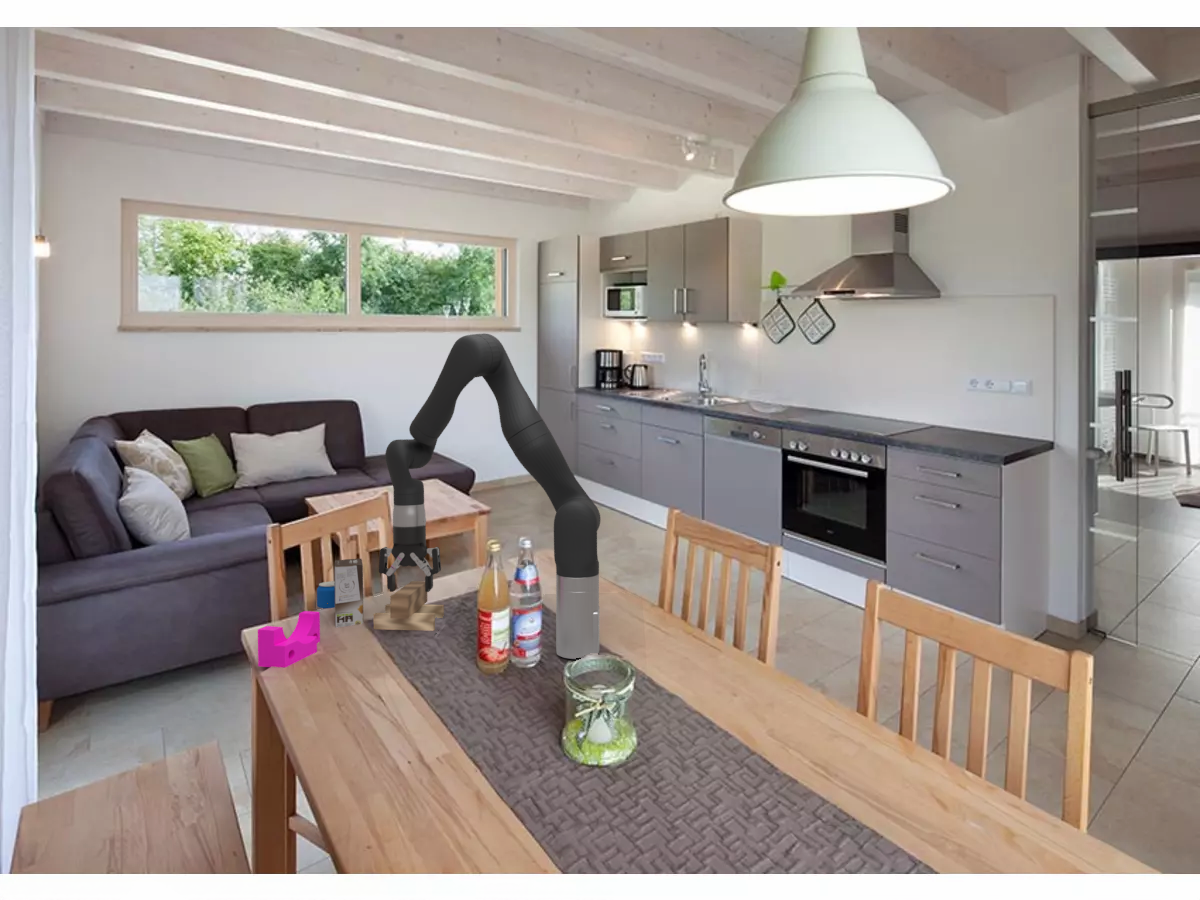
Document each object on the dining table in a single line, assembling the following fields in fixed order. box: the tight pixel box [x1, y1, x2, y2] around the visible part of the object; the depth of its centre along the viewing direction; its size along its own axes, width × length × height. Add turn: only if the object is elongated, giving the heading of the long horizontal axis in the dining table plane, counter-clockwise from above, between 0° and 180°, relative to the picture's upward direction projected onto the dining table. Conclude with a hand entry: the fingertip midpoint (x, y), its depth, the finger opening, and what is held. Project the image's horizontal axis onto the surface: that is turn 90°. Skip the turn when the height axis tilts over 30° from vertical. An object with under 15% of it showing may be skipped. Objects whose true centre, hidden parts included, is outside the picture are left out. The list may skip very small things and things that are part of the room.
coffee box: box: [333, 558, 364, 628], centre depth 169 cm, size 9×6×16 cm
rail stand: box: [372, 603, 445, 636], centre depth 167 cm, size 16×13×5 cm
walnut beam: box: [389, 580, 428, 618], centre depth 167 cm, size 16×4×5 cm, turn 178°
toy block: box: [257, 610, 321, 669], centre depth 149 cm, size 15×6×8 cm, turn 167°
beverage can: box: [316, 580, 335, 609], centre depth 177 cm, size 6×6×12 cm
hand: (410, 591), depth 167 cm, fingers open, 8 cm apart
